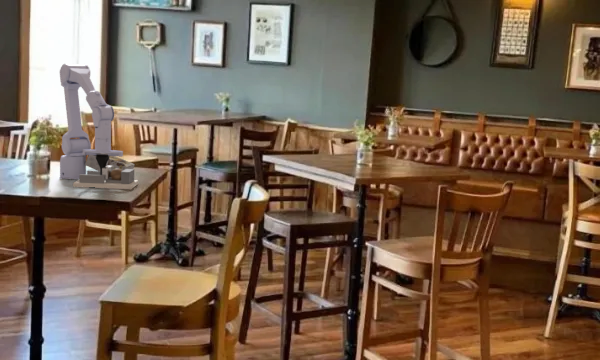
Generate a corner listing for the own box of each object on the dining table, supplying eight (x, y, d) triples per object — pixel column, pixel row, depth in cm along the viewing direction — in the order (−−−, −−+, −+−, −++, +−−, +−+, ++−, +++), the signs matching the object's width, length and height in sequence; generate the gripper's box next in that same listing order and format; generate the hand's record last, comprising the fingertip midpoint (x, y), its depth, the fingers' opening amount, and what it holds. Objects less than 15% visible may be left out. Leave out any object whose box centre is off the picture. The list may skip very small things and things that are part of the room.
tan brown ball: (108, 182, 280) (109, 168, 279) (111, 180, 285) (112, 166, 284) (122, 183, 280) (122, 169, 279) (125, 181, 285) (125, 167, 284)
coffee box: (127, 166, 292) (89, 150, 293) (121, 181, 293) (84, 165, 294) (135, 163, 301) (98, 148, 302) (129, 178, 302) (93, 163, 303)
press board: (73, 186, 277) (73, 170, 276) (83, 181, 289) (83, 166, 288) (130, 189, 277) (130, 173, 276) (138, 184, 289) (138, 168, 288)
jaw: (102, 179, 278) (102, 168, 278) (107, 175, 286) (107, 165, 286) (107, 179, 278) (107, 168, 278) (113, 176, 286) (113, 165, 286)
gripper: (80, 138, 276) (80, 175, 278) (119, 140, 276) (119, 177, 278) (85, 136, 283) (85, 172, 285) (124, 138, 283) (124, 174, 285)
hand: (102, 174), depth 282 cm, fingers closed
